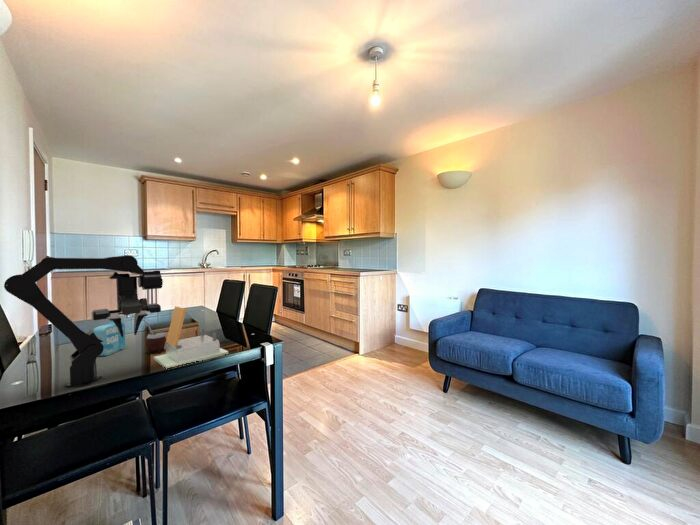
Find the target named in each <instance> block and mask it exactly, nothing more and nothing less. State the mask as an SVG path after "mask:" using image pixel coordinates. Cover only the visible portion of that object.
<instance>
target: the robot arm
mask: <svg viewBox="0 0 700 525" xmlns="http://www.w3.org/2000/svg"><path fill="white" fill-rule="evenodd" d="M53 270H108V271H114V272H113V273H112V274H111V275H110V276H108V280H115V282H116V283H115V284H116V286H115V287H116V309H113V310H109V308H100V309H94V310H92V311H91V319H92V321H99V320H108V321H110V322H112V323H115V325H116V327H117V329H118V331H119V333H120V335H121V337H123V329H122V324H121V322H122V318H121V317H120V315H123V316H129V315H134V316H133V318H134V319H133V335H134V336H136V335H137V333H138V330H139V328H140V324H141V323H142V321H143V320H142V319H144V318H145V317H147V316H148V315H149V314H148V312H149V313H151V314H153V313H161V312H162V310H161V309H162V307H161V305H160V304H159V303H155V302H154V303H153V302H152V303H148V299H147V298H145V297H144V298H142V297H141V298H138V297H139V296H138V288H141V289H142V290H144V291H145V290H146V291H147V290H157V289H158V290H159V289H162V288H163V283H164V282H163V281H164V279H163V278H162V273H161V270H151V271H150V270H149V271H148V270H147V271H146V270H145V271H144V269H143V268H142V267H141V266H140V265H138V259H137V258H136V257H134V255H128V254H126V255H125V254H124V255H117V256H108V257H54V256H46V257H44V258H43V259H41V261H39V262H38V263H37V264H36V265H34V266H32V267H31V268H29V269H28V270H26V271H25V272H23V273H21V274H16V275H11V276H9V277H8V278H7V279H6V280H5V282H4V284H3V287H4V289H5V291H6V292H7V293H9V294H11V295H12V296H14V297H15V298H17V299H19V300H21V301H22V302H24V303H26V304H28V305H29V306H32V308H34V309H35V311H37V312H38V313H40V314H41V316H43V317H44V318H45V319H46V320H47V321H48V322H49V323H51V324H52V325H53V326H54V327H55V328H57V330H59V332H61V333H62V334H63V335H64V336H65V337H66V338H67V339H68V340H69V341H70V342H71V344H72V345H73V347H74V348H75V351H74V352H73V353H72V354H71V355H69V361H70V363H71V365H70V366H69V382H68V383H66V384H65V385H64V387H65V388H69V387H72V388H73V387H84V386H89V385H91V384H93V383H95V382H97V381H98V380H100V379H101V378H102V375H99V376H98V375H97V371H98V370H97V358H98V357H100V356H99V355H100V354H101V353H102V352H103V349H104V347H103V345H102V343H101V342H103V341H102V339H101V338H100V337H97V336H96V335H95V334H94V332H93V331H94V330H92V329H90V330H89V331H88V332H87V331H84V330H83V329H81V328H80V327H79V326H78V325H77V324H76V323H74V322H73V320H72V319H70V317H68V316H67V315H66V314H65V313H64V312H63V311H61V309H60V308H58V306H56V305H55V304H54V303H53V302H52V301H51V300H50V299H49V298H47V297H46V295H45V294H44V292H43V291H42V289H41V288H40V286H39V285H38V284H37V282H38V281H40V280H41V279H42V278H45V277H46V276H47V275H48V274H49V273H51V272H52V271H53ZM118 272H122V273H118ZM123 272H124V273H123ZM126 272H127V273H126ZM130 274H133V275H132V276H131V275H130Z"/></svg>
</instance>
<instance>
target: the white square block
mask: <svg viewBox="0 0 700 525" xmlns="http://www.w3.org/2000/svg"><path fill="white" fill-rule="evenodd" d="M199 332H200V335H197V336H192V337H188V338H187V337H186V338H181V339H179V341H178V345H177V346H176V347H174V346H172V345H170V344H169V343H167V342H165V354H166V355H167V356H169V357H170V358H172V359H173V360H174V361H176V362H177V363H181V362H185V361H189V360H193V359H197V358H201V357H205V356H209V355H213V354H217V353H220V348H221V347H220V346H221V345H220V340H219V339H217V333H216V332H213V333H212V336H209V335H208V334H205V330H204V328H203V327H201V328H200V329H199Z"/></svg>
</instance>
